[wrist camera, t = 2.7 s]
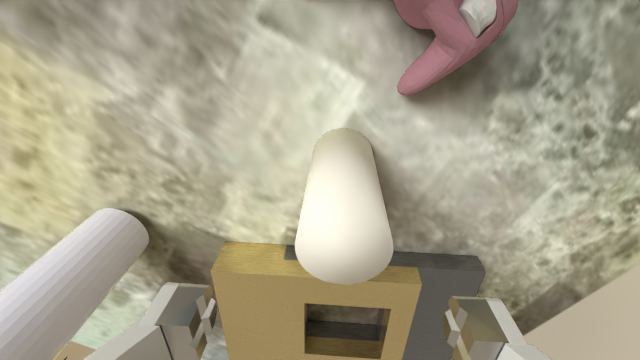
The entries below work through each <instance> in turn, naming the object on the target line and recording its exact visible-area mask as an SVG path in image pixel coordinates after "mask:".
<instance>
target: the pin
mask: <svg viewBox="0 0 640 360" xmlns="http://www.w3.org/2000/svg"><path fill="white" fill-rule="evenodd" d="M295 253H296V256H297V258H298V261H299V262H300V264H301V265H302V267H303V268H304V269H305V270H306V271H307V272H309V273H310V274H311V275H313V276H314V277H316V278H318V279H320V280H323V281H326V282H329V283H334V284H356V283H360V282H364V281H367V280H369V279H371V278H373V277H375V276H377V275H378V274H380V273H381V272H382V271H383V270H384V269H385V268H386V267H387V265H388V264H389V262H390V260H391V258H392V255H393V240H392V236H391V231H390V227H389V222H388V218H387V214H386V209H385V205H384V200H383V196H382V192H381V187H380V183H379V178H378V174H377V169H376V165H375V161H374V156H373V152H372V148H371V145H370V143H369V141H368V140H367V139H366V138H365V137H364V136H363V135H362V134H361V133H359V132H357V131H355V130H352V129H347V128H339V129H334V130H331V131H329V132H327V133H325V134H324V135H322V136H321V137H320V138H319V139H318V141H317V142H316V144H315V146H314V149H313V154H312V159H311V164H310V169H309V174H308V179H307V184H306V189H305V194H304V200H303V205H302V210H301V215H300V220H299V225H298V230H297V235H296V240H295Z"/></svg>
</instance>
